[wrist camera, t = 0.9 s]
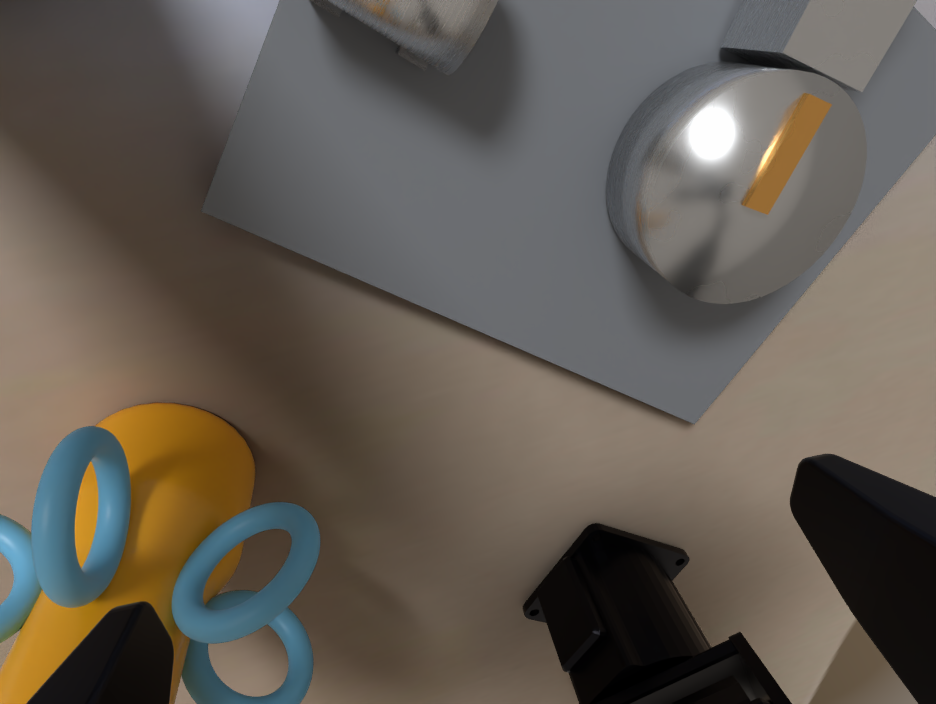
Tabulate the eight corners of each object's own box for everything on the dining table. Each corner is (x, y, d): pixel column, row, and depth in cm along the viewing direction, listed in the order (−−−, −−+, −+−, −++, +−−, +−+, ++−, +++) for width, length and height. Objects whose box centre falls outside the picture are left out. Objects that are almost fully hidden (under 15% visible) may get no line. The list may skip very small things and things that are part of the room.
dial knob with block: (727, 286, 21) (784, 327, 18) (573, 238, 19) (612, 276, 16) (942, -83, 16) (1062, -101, 14) (767, -200, 14) (868, -249, 12)
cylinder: (389, 431, 23) (453, 954, 10) (255, 596, 26) (177, 1156, 13) (50, 269, 18) (-698, 938, 5) (-68, 500, 21) (-716, 1282, 8)
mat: (955, 75, 20) (982, 78, 19) (682, 410, 25) (694, 424, 24) (448, -439, 12) (456, -473, 11) (207, 201, 18) (200, 211, 17)
